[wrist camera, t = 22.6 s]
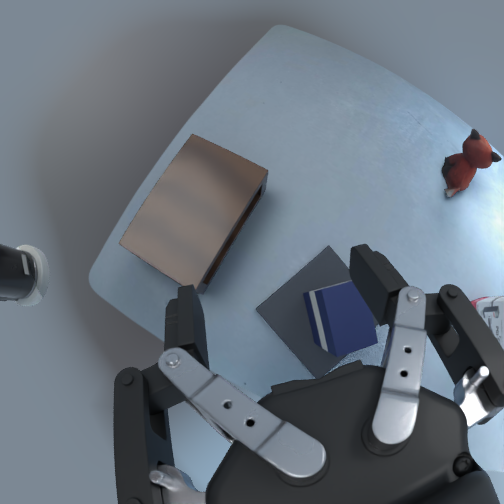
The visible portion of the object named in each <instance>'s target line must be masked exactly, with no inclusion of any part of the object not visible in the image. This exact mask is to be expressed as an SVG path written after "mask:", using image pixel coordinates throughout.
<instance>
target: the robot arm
mask: <svg viewBox="0 0 504 504" xmlns="http://www.w3.org/2000/svg"><path fill="white" fill-rule="evenodd" d="M349 273H350V278H351V280H352V282H353V284H354V285H355V287H356V288H357V290H358V291H359V293H360V295H361V296H362V298H363V299H364V301H365V303H366V304H367V306H368V307H369V309H370V311H371V312H372V314H373V315H374V317H375V319H376V320H377V322H378V324H379V325H380V326H383V325H385V324H388V325H389V327H390V328H389V331H388V336H387V341H386V345H385V350H384V354H383V358H382V362H381V365H380V367H379V366H374V365H363V364H362V362H361V360H358V361H355V362H352V363H349V364H346V365H343V366H340V367H338V368H336V369H335V370H333V371H332V372H330V373H328V374H326V375H325V376H323V377H321V378H319V379H309V380H293V381H289V382H285V383H281V384H278V385H273V386H271V389H272V392H271V393H269V394H267V395H266V396H264V397H263V398H262V399H261V400H259V401H258V402H257V403H256V402H255V401H253V400H252V399H251V398H249V397H248V396H247V395H245V394H244V393H243V392H241V391H240V390H239V389H237V388H236V387H235V386H233V385H232V384H231V383H229V382H228V381H227V380H226V379H224V378H223V377H222V376H220V375H218V374H216V375H214V374H213V373H211V372H210V370H209V361H208V351H207V341H206V331H205V320H204V313H203V309H202V306H201V303H200V300H199V298H198V295H197V292H196V290H195V287H194V285H193V284H191V285H187V286H182V287H178V298H177V299H172V300H170V301H169V303H168V305H167V307H166V316H165V317H166V318H165V345H164V352H163V353H162V354H161V356H160V357H159V360H158V362H157V363H156V364H155V365H153V366H151V367H149V368H147V369H144V370H142V371H140V370H138V369H137V368H134V367H129V368H125V369H123V370H122V371H120V373H119V374H118V375H117V376H116V379H115V383H114V459H115V476H116V488H117V498H118V504H500V502H499V500H498V497H497V494H496V492H495V489H494V487H493V484H492V482H491V480H490V477H489V476H488V474H487V473H486V472H485V471H484V470H483V469H482V468H481V467H480V466H479V465H478V464H477V463H476V462H475V461H474V459H473V458H472V456H471V454H470V452H469V447H468V437H467V433H468V429H469V428H471V427H473V426H474V425H476V424H479V425H482V424H485V423H487V422H488V421H489V420H490V419H492V418H493V417H494V416H495V415H496V414H497V413H499V412H500V411H501V410H502V409H503V408H504V349H503V348H502V346H501V345H500V343H499V342H498V340H497V339H496V337H495V336H494V334H493V333H492V331H491V330H490V328H489V327H488V325H487V324H486V323H485V321H484V320H483V318H482V317H481V316H480V314H479V313H478V311H477V310H476V309H475V307H474V306H473V305H472V303H471V302H470V301H469V299H468V298H467V297H466V295H465V294H464V293H463V292H462V290H461V289H460V288H458V287H457V286H455V285H451V284H447V285H444V286H442V287H441V289H440V291H439V293H432V294H424V292H423V291H422V290H421V289H419V288H417V287H413V286H409V285H408V284H407V282H406V281H405V280H404V279H403V277H402V276H401V275H400V274H399V272H398V271H397V270H396V269H394V266H393V265H392V264H390V262H389V260H388V259H387V258H386V257H385V256H384V255H382V254H381V253H379V252H377V251H374V252H373V251H372V250H371V249H370V248H369V246H368V245H367V244H362V245H358V246H354V247H352V248H351V253H350V267H349ZM37 278H38V269H37V264H36V261H35V259H34V257H33V255H32V254H31V253H29V252H27V251H23V250H18V249H15V248H12V247H9V246H5V245H2V244H0V301H7V300H12V301H18V299H25V298H28V297H29V296H30V295H31V294H32V293H33V291H34V289H35V287H36V283H37ZM453 327H454V328H453ZM455 330H456V331H455ZM456 332H457V333H458V334H457V333H456ZM427 335H428V337H429V339H430V340H431V342H432V344H433V346H434V347H435V349H436V351H437V353H438V354H439V356H440V358H441V360H442V362H443V363H444V365H445V367H446V369H447V371H448V373H449V375H450V376H451V378H452V380H453V382H454V384H455V388H454V402H453V401H452V400H450V399H447V398H445V397H443V396H441V395H439V394H437V393H435V392H432V391H430V390H428V389H426V388H424V387H422V386H420V383H421V377H422V370H423V363H424V355H425V346H426V336H427ZM458 335H459V336H458ZM183 401H185V402H186V403H187V404H188V405H190V407H191V408H193V409H194V410H195V411H196V412H197V413H198V414H199V415H200V416H201V417H202V418H203V419H204V420H206V421H207V422H208V423H209V424H210V425H211V426H212V427H213V428H214V429H215V430H216V431H217V432H218V433H219V434H220V435H221V436H223V437H224V438H225V439H226V440H227V441H229V442H230V443H231V444H232V445H231V446H230V448H229V450H228V452H227V453H226V455H225V457H224V459H223V460H222V462H221V463H220V465H219V467H218V468H217V470H216V472H215V473H214V475H213V477H212V478H211V480H210V482H209V483H208V486H207V488H206V492H199V491H198V490H197V489H196V488H195V487H194V485H193V483H192V480H191V478H190V477H189V476H188V475H187V474H186V473H184V472H182V471H181V470H179V469H177V468H175V464H174V458H173V451H172V443H171V436H170V428H169V418H168V408H170V407H172V406H174V405H176V404H178V403H181V402H183Z"/></svg>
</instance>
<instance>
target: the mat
mask: <svg viewBox="0 0 504 504" xmlns="http://www.w3.org/2000/svg"><path fill="white" fill-rule="evenodd" d="M347 281H351V278H350V273H349V269H348V267H347V266H346V265H345V264H344V263H343V261H342V260H341V259H340V258H339V257H338V255H337V254H336V253H335V252H334V251H333V249H332V248H331V247H330V246H327V247H326V248H325V249H324V250H323V251H322V252H321V253H320V254H319V255H317V256H316V257H315V258H314V259H313V260H312V261H311V262H309V263H308V264H307V265H306V266H305V267H304V268H303V269H302V270H300V271H299V272H298V273H297V274H296V275H295V276H293V277H292V278H291V279H290V280H289V281H288V282H287V283H285V284H284V285H283V286H282V287H281V288H280V289H278V290H277V291H276V292H275V293H274V294H273V295H271V296H270V297H269V298H268V299H267V300H265V301H264V302H263V303H262V304H261V305H260V306H258V307H257V308H256V310H257V311H258V312H259V314H260V315H261V316H262V317H263V318H264V319H265V321H266V322H267V323H268V324H269V325H270V326H271V328H272V329H273V330H274V331H275V332H276V333H277V334H278V336H279V337H280V338H281V339H282V340H283V341H284V343H285V344H286V345H287V346H288V347H289V348H290V349H291V351H292V352H293V353H294V354H295V355H296V356H297V357H298V358H299V360H300V361H301V362H302V363H303V364H304V365H305V366H306V367H307V369H308V370H309V371H310V372H311V373H312V374H313V375H314V376H315V378H316V379H319V378H321V377H323V376H324V375H325V374H326V373H327V372H328V371H329V370H331V369H332V368H333V367H334V366H335V365H336V364H337V363H338V362H339V361H341V360H342V359H343V358H344V357H345V356H346V355H347V354H345V355H342V356H339V357H336V356H334V355H332V354H331V353H329V352H327V351H326V350H324V349H322V348H321V347H319V346H318V345H316V344H315V343H314V339H313V334H312V330H311V326H310V321H309V317H308V313H307V309H306V305H305V301H304V296H303V293H305V292H309V291H313V290H316V289H320V288H324V287H327V286H331V285H335V284H339V283H343V282H347ZM372 316H373V321H374V326H375V327H376V326H377V325H378V322H377V320H376V319H375V317H374V315H373V314H372Z"/></svg>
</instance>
